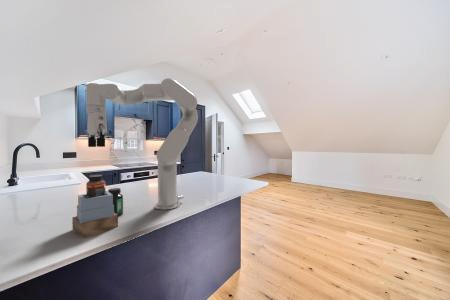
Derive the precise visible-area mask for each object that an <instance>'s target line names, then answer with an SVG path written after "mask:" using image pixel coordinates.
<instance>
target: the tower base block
mask: <svg viewBox="0 0 450 300" xmlns="http://www.w3.org/2000/svg"><path fill="white" fill-rule="evenodd" d="M71 222H72V231H73V232H75V233H76V234H78V235H79V236H80V237H81V238H82V239H86V238H89V237H91V236H93V235H96V234H100V233H103V232H105V231H109V230H111V229H112V230H113V229H115V228H118V227H119V217H118V214H116V213H114V216H111V217H106V218H102V219H98V220H94V221H89V222H85V223H80V221H79V219H78V217H77V215H76V216H73V217H72V221H71Z"/></svg>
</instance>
